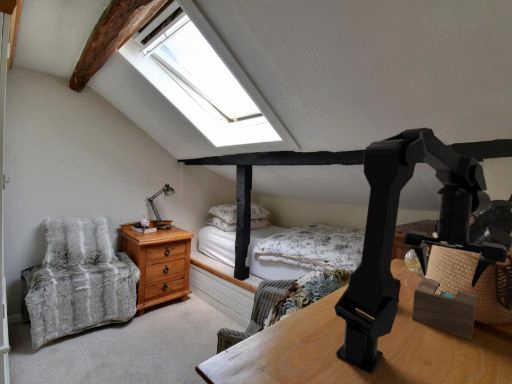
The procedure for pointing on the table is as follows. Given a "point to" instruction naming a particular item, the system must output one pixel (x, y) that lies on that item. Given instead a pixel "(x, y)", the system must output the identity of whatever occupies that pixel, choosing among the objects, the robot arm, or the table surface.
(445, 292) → the teal block
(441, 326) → the wooden box
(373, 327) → the robot arm
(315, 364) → the table surface
